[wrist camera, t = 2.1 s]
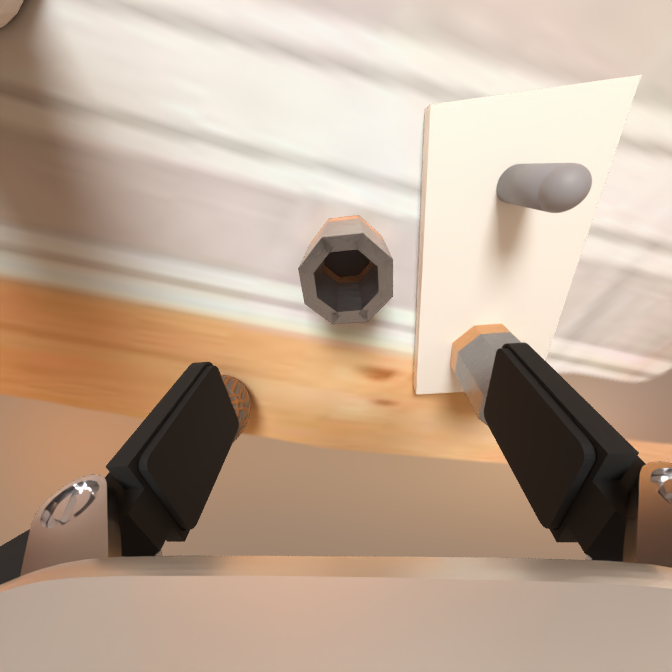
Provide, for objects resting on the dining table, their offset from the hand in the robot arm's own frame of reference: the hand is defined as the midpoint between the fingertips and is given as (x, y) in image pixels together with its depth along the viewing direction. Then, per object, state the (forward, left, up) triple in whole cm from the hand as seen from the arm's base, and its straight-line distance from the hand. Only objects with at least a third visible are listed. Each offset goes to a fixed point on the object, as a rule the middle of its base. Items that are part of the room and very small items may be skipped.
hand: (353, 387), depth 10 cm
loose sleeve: (0, 0, -17) cm, 17 cm away
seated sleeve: (+10, +12, -15) cm, 21 cm away
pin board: (+3, +12, -17) cm, 20 cm away
